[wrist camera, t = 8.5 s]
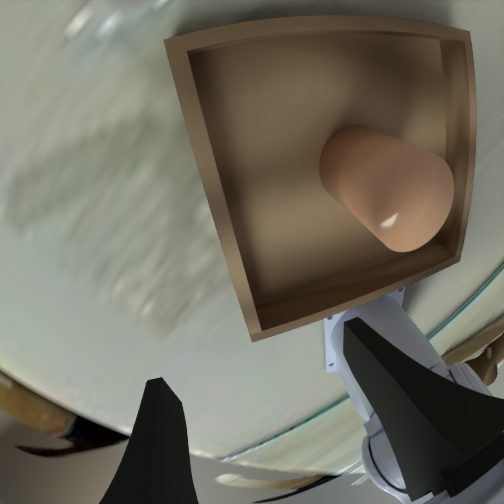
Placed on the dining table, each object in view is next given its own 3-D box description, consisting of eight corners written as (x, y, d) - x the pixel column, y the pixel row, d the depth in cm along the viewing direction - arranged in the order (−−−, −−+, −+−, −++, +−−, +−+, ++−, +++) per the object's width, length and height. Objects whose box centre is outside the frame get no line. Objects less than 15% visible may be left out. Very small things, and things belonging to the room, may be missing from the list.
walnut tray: (438, 243, 24) (459, 261, 21) (243, 312, 22) (252, 342, 20) (439, 30, 14) (469, 31, 11) (166, 48, 12) (163, 39, 10)
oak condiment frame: (503, 348, 48) (509, 355, 46) (414, 407, 46) (420, 417, 44) (531, 293, 39) (539, 300, 36) (438, 358, 36) (447, 370, 34)
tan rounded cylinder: (387, 193, 19) (447, 237, 14) (322, 210, 18) (373, 264, 14) (387, 121, 16) (457, 148, 11) (314, 131, 16) (376, 161, 11)
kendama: (462, 381, 48) (457, 355, 37) (494, 350, 46) (498, 313, 35) (477, 400, 43) (478, 382, 32) (509, 368, 42) (520, 337, 31)
